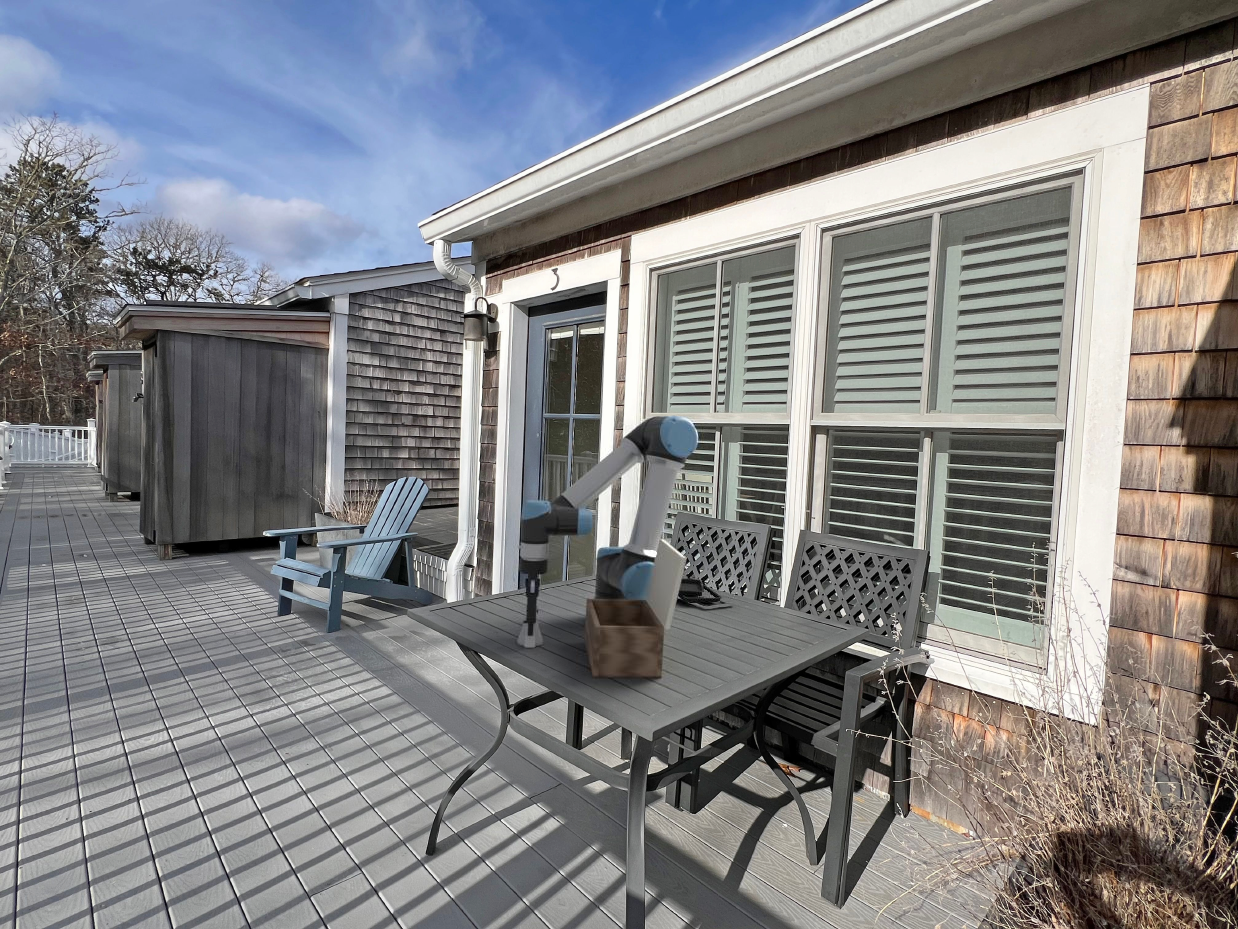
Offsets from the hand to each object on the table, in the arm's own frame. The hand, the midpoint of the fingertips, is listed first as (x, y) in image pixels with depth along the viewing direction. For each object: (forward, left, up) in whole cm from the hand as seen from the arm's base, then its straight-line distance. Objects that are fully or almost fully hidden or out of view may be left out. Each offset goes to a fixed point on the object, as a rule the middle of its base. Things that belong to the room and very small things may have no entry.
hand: (529, 642), depth 176 cm
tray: (-57, -50, -1) cm, 76 cm away
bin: (-23, +12, 0) cm, 26 cm away
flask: (0, 0, -1) cm, 1 cm away
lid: (-33, +12, +20) cm, 40 cm away
